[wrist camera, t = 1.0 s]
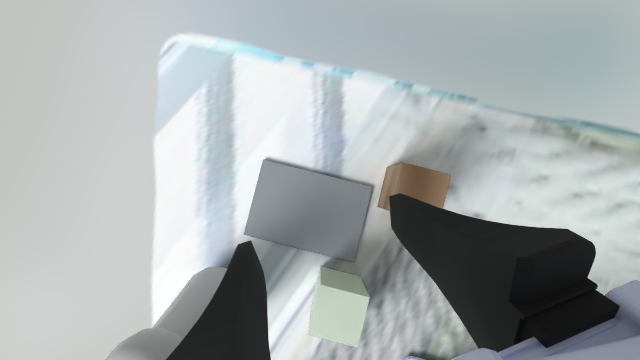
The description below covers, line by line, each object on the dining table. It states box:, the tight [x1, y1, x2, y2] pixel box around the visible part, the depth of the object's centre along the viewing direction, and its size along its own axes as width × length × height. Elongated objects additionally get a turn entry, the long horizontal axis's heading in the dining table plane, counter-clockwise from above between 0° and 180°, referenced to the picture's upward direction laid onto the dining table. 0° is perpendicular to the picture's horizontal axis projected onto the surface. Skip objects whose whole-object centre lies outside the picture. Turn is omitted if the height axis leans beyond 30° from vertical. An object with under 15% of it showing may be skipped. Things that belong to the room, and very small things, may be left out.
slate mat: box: [244, 160, 372, 262], centre depth 26 cm, size 11×8×1 cm
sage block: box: [308, 267, 370, 347], centre depth 23 cm, size 4×4×5 cm
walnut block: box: [377, 163, 451, 211], centre depth 24 cm, size 4×4×5 cm
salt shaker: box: [106, 267, 227, 360], centre depth 19 cm, size 6×6×13 cm
